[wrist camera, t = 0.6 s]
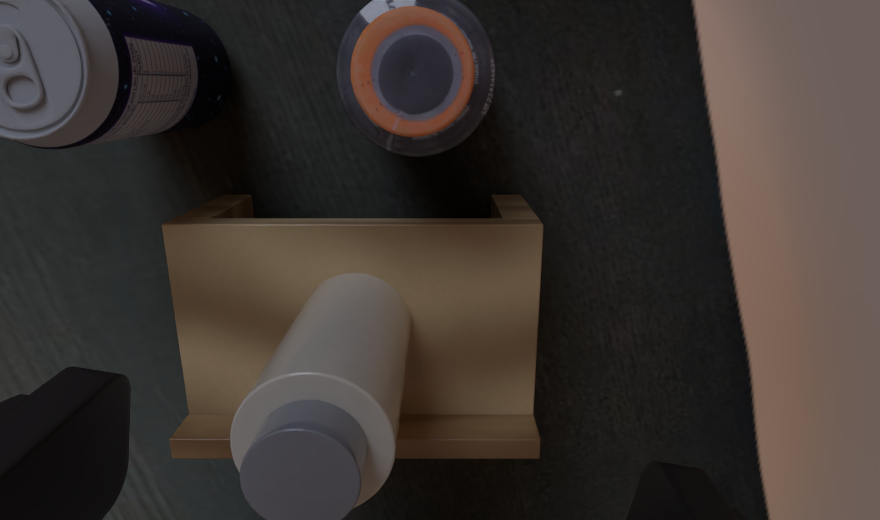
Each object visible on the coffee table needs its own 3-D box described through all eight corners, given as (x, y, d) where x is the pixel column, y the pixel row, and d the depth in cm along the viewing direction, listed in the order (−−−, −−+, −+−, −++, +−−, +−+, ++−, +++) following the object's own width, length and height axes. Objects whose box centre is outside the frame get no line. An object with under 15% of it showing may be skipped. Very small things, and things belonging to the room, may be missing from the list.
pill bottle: (358, 19, 28) (306, -26, 17) (478, 10, 28) (503, -41, 17) (371, 142, 30) (330, 173, 19) (484, 134, 29) (510, 160, 19)
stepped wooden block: (222, 194, 30) (135, 236, 22) (521, 194, 30) (553, 236, 22) (241, 363, 33) (171, 458, 25) (514, 363, 33) (539, 459, 25)
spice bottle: (298, 272, 24) (197, 401, 14) (410, 272, 24) (389, 401, 14) (305, 372, 26) (218, 556, 16) (412, 372, 26) (393, 556, 16)
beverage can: (218, -2, 28) (59, -66, 16) (251, 116, 29) (127, 135, 18) (107, 22, 28) (-127, -26, 16) (145, 137, 29) (-43, 168, 18)
